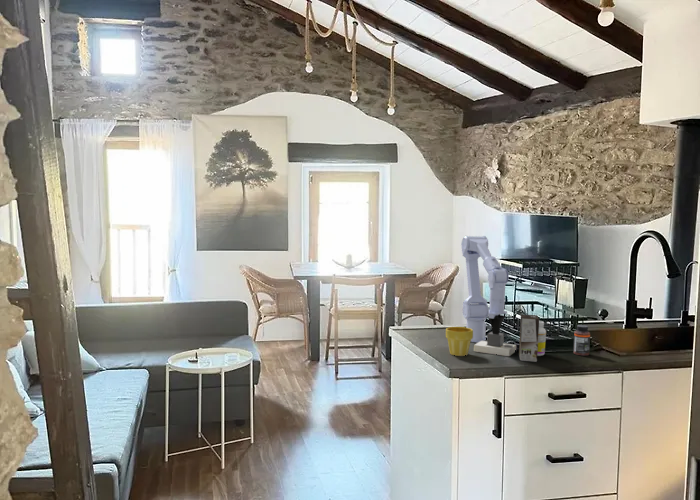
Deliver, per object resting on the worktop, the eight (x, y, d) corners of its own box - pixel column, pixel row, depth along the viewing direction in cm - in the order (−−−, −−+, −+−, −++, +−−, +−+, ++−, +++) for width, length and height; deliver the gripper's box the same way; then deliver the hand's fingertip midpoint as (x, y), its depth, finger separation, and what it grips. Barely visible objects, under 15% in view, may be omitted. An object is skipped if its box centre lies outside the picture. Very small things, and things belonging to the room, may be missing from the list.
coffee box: (537, 362, 246) (539, 319, 245) (519, 360, 248) (521, 318, 246) (535, 356, 255) (537, 314, 254) (518, 355, 257) (520, 313, 255)
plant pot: (442, 351, 260) (443, 326, 259) (467, 351, 261) (468, 326, 260) (448, 357, 250) (449, 331, 249) (475, 357, 251) (476, 332, 250)
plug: (490, 348, 265) (491, 331, 264) (503, 349, 262) (503, 333, 262) (486, 350, 261) (487, 333, 261) (499, 352, 259) (500, 335, 258)
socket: (481, 346, 270) (481, 338, 269) (515, 351, 263) (516, 343, 263) (473, 351, 261) (473, 343, 261) (508, 356, 254) (509, 348, 254)
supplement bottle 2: (577, 351, 265) (579, 323, 264) (592, 354, 260) (593, 326, 259) (570, 354, 260) (571, 325, 260) (584, 356, 256) (586, 327, 255)
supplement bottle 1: (524, 351, 262) (526, 319, 261) (541, 352, 262) (543, 320, 261) (529, 356, 255) (532, 323, 254) (547, 356, 256) (549, 323, 254)
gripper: (501, 303, 252) (500, 338, 253) (512, 298, 264) (510, 331, 266) (483, 301, 255) (482, 336, 256) (495, 296, 268) (493, 329, 269)
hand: (495, 333), depth 261 cm, fingers closed, pressing on plug
